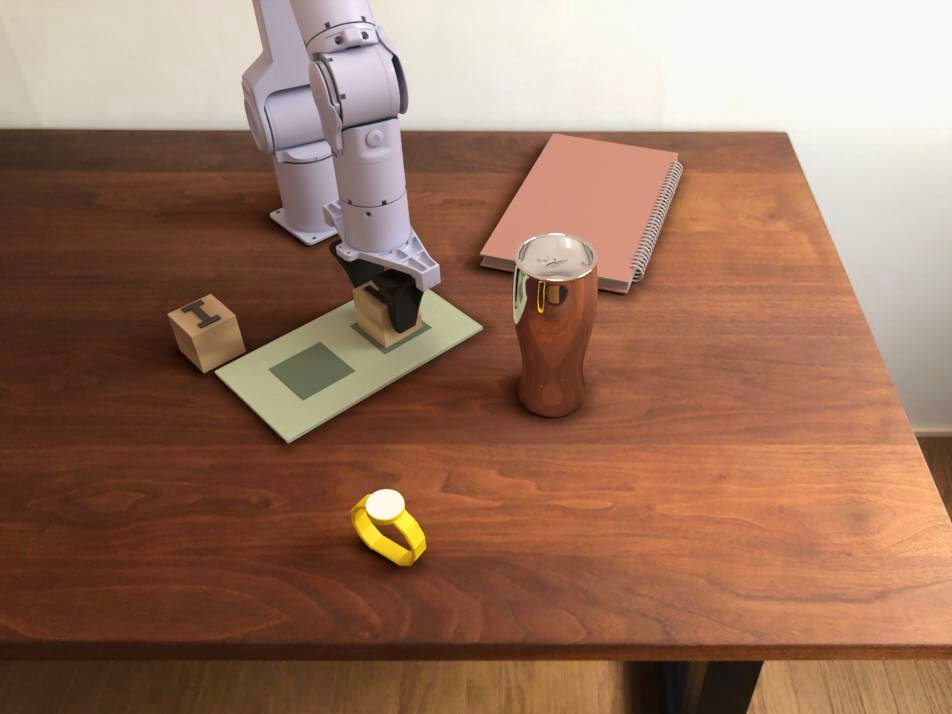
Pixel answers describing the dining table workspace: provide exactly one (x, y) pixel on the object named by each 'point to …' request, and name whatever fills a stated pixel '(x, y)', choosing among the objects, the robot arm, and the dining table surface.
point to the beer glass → (554, 319)
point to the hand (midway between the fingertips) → (389, 315)
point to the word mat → (336, 365)
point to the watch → (386, 511)
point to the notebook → (591, 205)
